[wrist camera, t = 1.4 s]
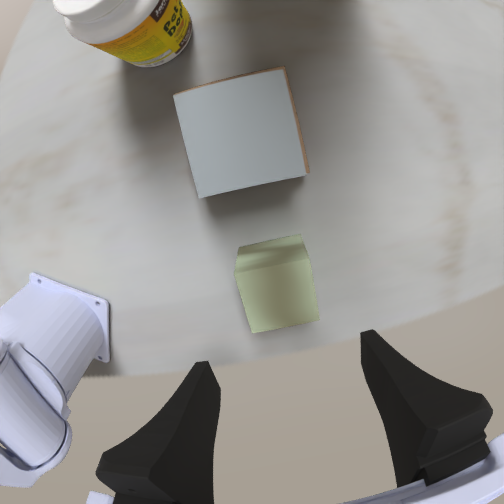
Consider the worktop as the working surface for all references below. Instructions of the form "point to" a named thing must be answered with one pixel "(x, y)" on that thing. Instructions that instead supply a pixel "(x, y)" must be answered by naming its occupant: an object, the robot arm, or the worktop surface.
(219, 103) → the grey slab
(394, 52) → the worktop surface
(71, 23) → the supplement bottle
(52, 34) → the worktop surface
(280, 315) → the sage block
